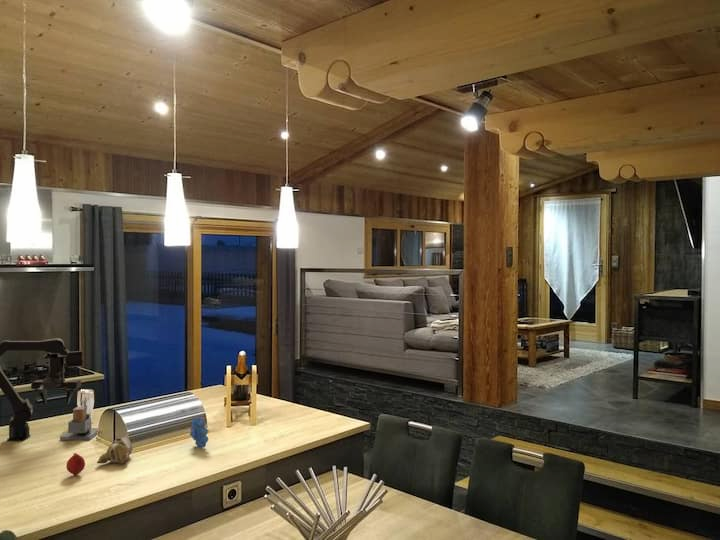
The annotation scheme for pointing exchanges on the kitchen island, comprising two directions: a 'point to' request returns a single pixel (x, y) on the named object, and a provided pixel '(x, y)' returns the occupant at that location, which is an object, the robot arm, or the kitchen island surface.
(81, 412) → the brown rectangular block
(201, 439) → the grapes
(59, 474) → the kitchen island surface
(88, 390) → the beer glass
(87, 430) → the bracket
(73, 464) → the onion
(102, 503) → the kitchen island surface
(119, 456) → the ceramic sculpture
